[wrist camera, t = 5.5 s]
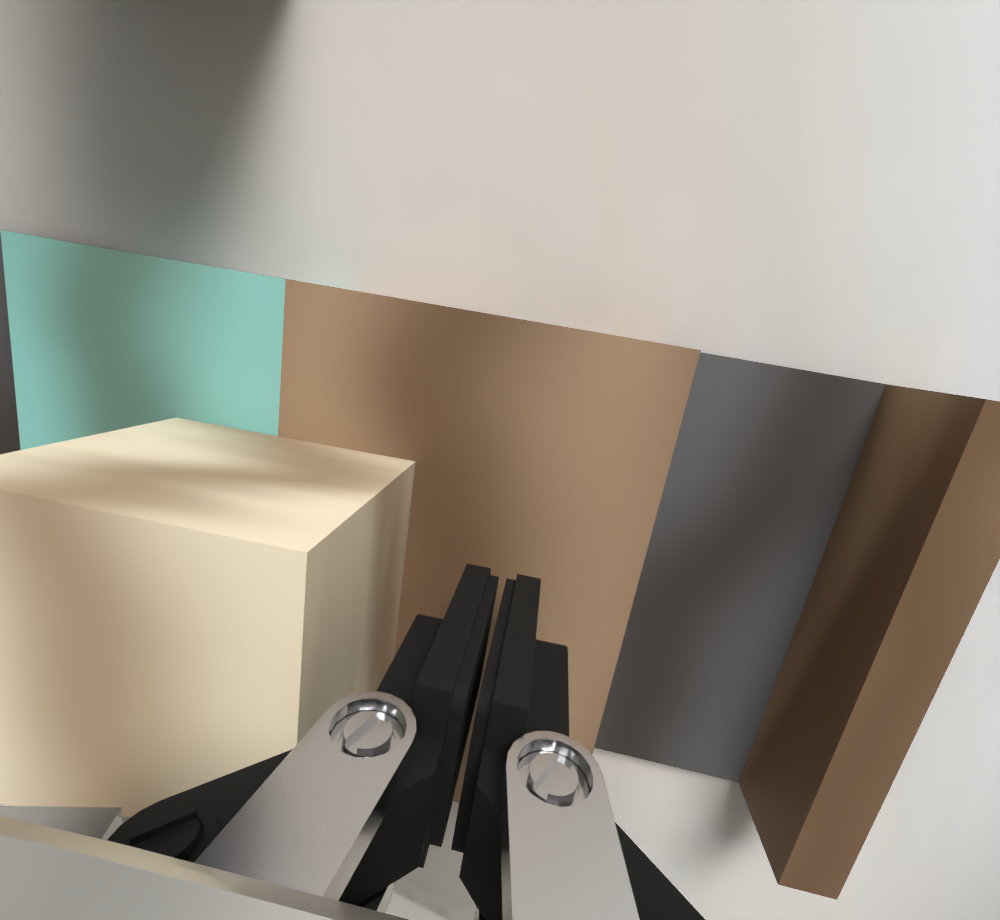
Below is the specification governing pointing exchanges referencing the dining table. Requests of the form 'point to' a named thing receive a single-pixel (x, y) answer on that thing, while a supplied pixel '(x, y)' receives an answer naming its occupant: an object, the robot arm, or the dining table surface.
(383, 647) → the beech block
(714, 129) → the dining table surface
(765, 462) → the board
